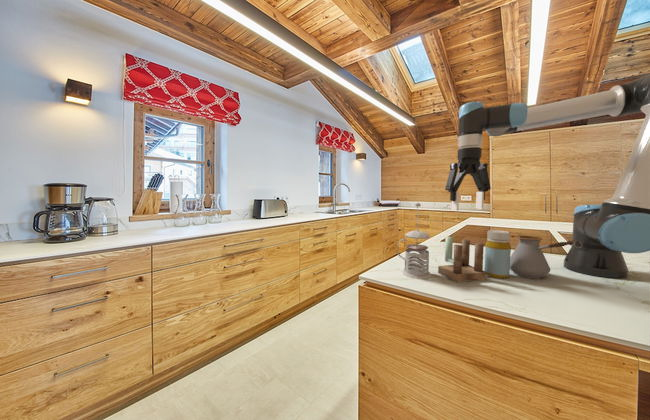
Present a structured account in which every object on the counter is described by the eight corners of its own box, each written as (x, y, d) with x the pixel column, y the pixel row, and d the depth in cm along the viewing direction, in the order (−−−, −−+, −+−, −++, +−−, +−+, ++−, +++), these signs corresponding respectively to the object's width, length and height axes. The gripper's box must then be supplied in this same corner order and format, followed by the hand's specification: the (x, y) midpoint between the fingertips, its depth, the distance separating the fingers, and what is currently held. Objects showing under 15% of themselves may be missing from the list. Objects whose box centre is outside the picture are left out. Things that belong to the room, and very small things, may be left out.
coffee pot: (498, 269, 89) (500, 228, 88) (528, 268, 89) (531, 227, 88) (556, 294, 68) (559, 241, 66) (595, 293, 68) (600, 240, 67)
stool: (465, 270, 88) (466, 239, 87) (486, 279, 79) (487, 244, 78) (438, 272, 86) (438, 240, 85) (456, 282, 77) (457, 246, 76)
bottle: (500, 271, 86) (503, 229, 85) (514, 279, 79) (516, 233, 78) (480, 271, 87) (481, 229, 86) (491, 278, 80) (493, 233, 79)
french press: (433, 280, 80) (434, 203, 77) (396, 276, 83) (396, 203, 81) (430, 270, 89) (431, 201, 87) (397, 267, 93) (397, 201, 90)
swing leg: (463, 265, 85) (464, 240, 84) (457, 266, 85) (458, 240, 84) (449, 259, 92) (449, 236, 91) (443, 260, 92) (444, 236, 91)
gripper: (487, 150, 94) (484, 207, 96) (435, 149, 90) (433, 209, 92) (505, 146, 87) (501, 209, 89) (449, 145, 83) (447, 211, 85)
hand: (467, 209), depth 90 cm, fingers open, 10 cm apart
